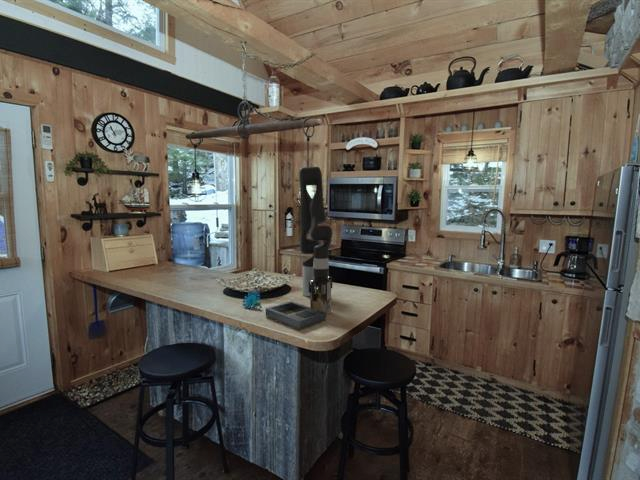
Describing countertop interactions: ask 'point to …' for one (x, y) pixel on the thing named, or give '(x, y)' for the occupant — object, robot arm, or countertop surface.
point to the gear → (252, 300)
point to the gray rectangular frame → (296, 315)
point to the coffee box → (322, 297)
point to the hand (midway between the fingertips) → (320, 299)
